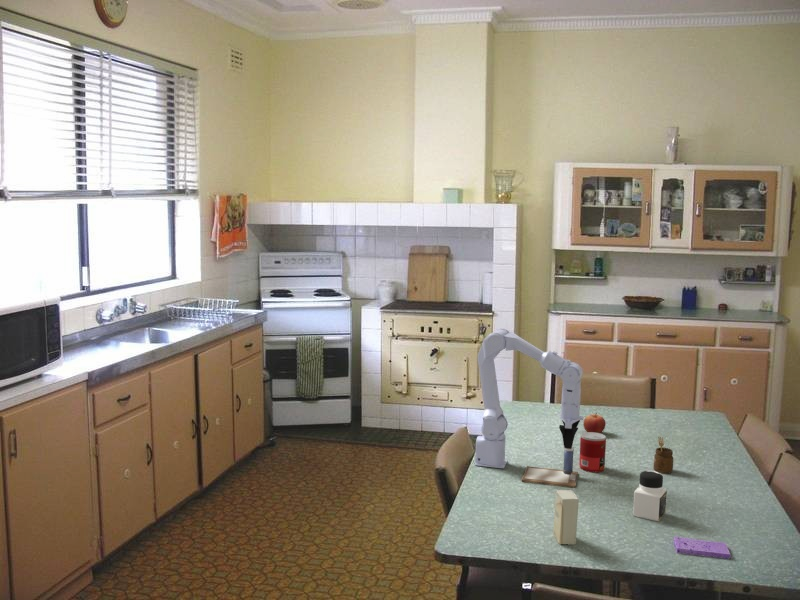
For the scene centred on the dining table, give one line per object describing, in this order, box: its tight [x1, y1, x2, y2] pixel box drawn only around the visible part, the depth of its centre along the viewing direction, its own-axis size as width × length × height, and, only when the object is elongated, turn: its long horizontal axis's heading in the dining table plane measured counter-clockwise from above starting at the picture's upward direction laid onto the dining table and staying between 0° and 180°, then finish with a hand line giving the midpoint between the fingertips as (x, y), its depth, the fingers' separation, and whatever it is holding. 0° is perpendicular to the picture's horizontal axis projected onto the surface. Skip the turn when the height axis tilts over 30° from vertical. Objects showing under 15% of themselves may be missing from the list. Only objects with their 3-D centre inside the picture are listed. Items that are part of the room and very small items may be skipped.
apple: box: [583, 412, 607, 434], centre depth 293 cm, size 8×8×8 cm
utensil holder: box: [653, 435, 674, 475], centre depth 253 cm, size 6×6×12 cm
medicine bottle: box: [632, 470, 667, 522], centre depth 217 cm, size 7×7×12 cm
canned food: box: [578, 431, 607, 473], centre depth 254 cm, size 8×8×11 cm
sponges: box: [673, 536, 731, 559], centre depth 196 cm, size 7×13×2 cm, turn 76°
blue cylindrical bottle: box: [562, 446, 575, 475], centre depth 248 cm, size 3×3×8 cm
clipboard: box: [521, 465, 579, 488], centre depth 246 cm, size 16×13×1 cm
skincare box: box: [552, 489, 580, 546], centre depth 200 cm, size 6×4×12 cm
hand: (568, 444), depth 247 cm, fingers open, 7 cm apart
